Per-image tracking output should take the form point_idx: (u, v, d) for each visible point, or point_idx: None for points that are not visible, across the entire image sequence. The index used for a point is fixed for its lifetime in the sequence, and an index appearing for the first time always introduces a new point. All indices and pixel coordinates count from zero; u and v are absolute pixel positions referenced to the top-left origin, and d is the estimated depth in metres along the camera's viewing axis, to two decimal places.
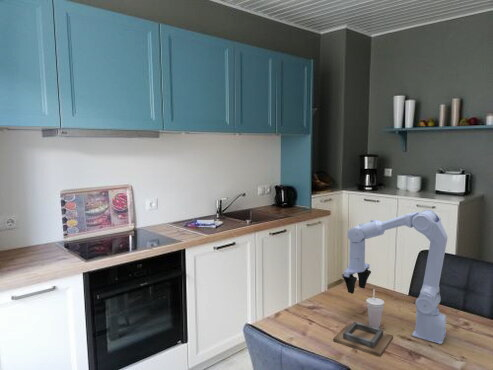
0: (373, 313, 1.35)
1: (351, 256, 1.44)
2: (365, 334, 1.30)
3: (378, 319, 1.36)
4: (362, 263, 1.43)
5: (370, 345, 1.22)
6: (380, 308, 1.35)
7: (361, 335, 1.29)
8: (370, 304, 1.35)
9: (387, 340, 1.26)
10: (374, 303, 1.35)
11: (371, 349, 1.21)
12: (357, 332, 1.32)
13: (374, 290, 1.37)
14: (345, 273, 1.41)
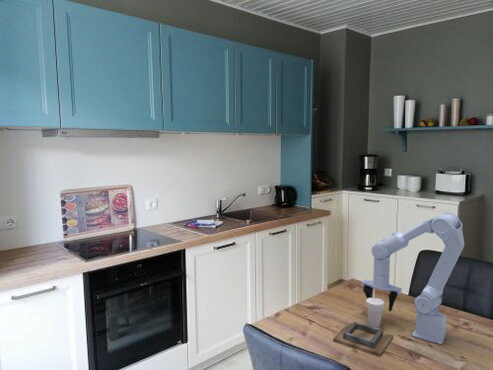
0: (373, 313, 1.35)
1: (375, 273, 1.40)
2: (365, 334, 1.30)
3: (378, 319, 1.36)
4: (377, 280, 1.40)
5: (370, 345, 1.22)
6: (380, 308, 1.35)
7: (361, 335, 1.29)
8: (370, 304, 1.35)
9: (387, 340, 1.26)
10: (374, 303, 1.35)
11: (371, 349, 1.21)
12: (357, 332, 1.32)
13: (374, 290, 1.37)
14: None
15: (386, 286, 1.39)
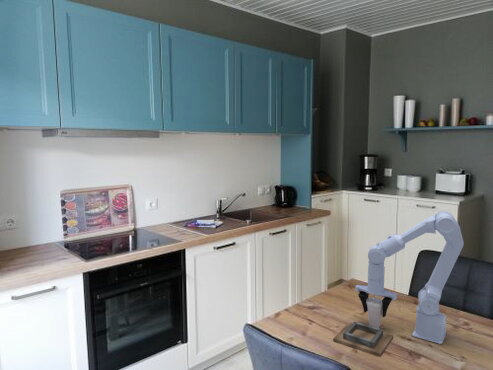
0: (373, 313, 1.35)
1: (371, 278, 1.34)
2: (365, 334, 1.30)
3: (378, 319, 1.36)
4: (371, 285, 1.34)
5: (370, 345, 1.22)
6: (380, 308, 1.35)
7: (361, 335, 1.29)
8: (370, 304, 1.35)
9: (387, 340, 1.26)
10: (374, 303, 1.35)
11: (371, 349, 1.21)
12: (357, 332, 1.32)
13: None
14: None
15: (381, 292, 1.34)
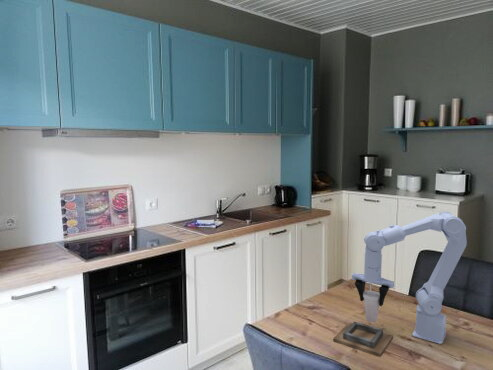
0: (369, 307, 1.32)
1: (370, 266, 1.30)
2: (365, 334, 1.30)
3: (375, 312, 1.32)
4: (368, 273, 1.31)
5: (370, 345, 1.22)
6: (377, 302, 1.31)
7: (361, 335, 1.29)
8: (366, 297, 1.32)
9: (387, 340, 1.26)
10: (371, 296, 1.32)
11: (371, 349, 1.21)
12: (357, 332, 1.32)
13: None
14: None
15: (378, 279, 1.30)
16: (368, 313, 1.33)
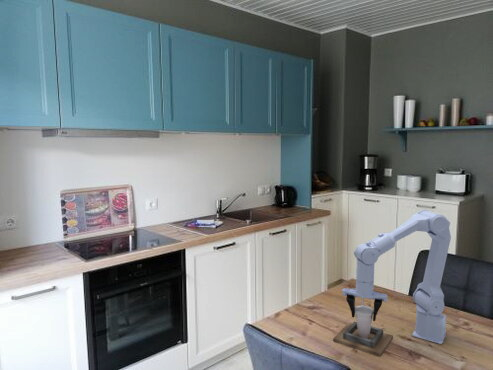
0: (363, 323, 1.26)
1: (364, 281, 1.24)
2: None
3: (369, 328, 1.27)
4: (362, 288, 1.24)
5: (370, 345, 1.22)
6: (370, 317, 1.26)
7: None
8: (360, 314, 1.26)
9: (387, 340, 1.26)
10: (364, 312, 1.26)
11: (371, 349, 1.21)
12: (357, 332, 1.32)
13: None
14: None
15: (371, 294, 1.24)
16: (361, 330, 1.27)
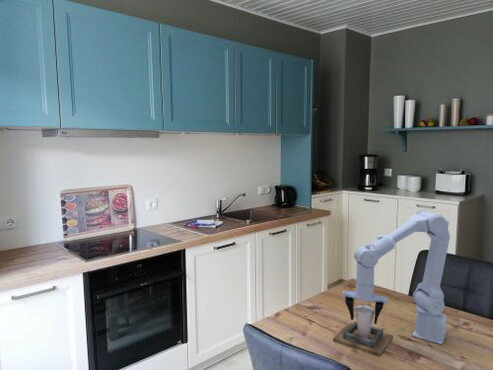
0: (363, 323, 1.26)
1: (364, 284, 1.24)
2: None
3: (369, 328, 1.27)
4: (362, 290, 1.24)
5: (370, 345, 1.22)
6: (371, 317, 1.26)
7: None
8: (361, 313, 1.26)
9: (387, 340, 1.26)
10: (365, 312, 1.26)
11: (371, 349, 1.21)
12: (357, 332, 1.32)
13: None
14: (342, 293, 1.30)
15: (371, 296, 1.24)
16: (362, 329, 1.27)
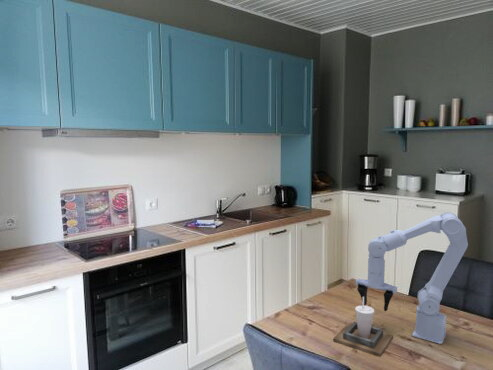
0: (363, 323, 1.26)
1: (372, 272, 1.33)
2: None
3: (369, 328, 1.27)
4: (372, 278, 1.33)
5: (370, 345, 1.22)
6: (371, 317, 1.26)
7: None
8: (361, 313, 1.26)
9: (387, 340, 1.26)
10: (365, 312, 1.26)
11: (371, 349, 1.21)
12: (357, 332, 1.32)
13: (363, 298, 1.28)
14: None
15: (381, 285, 1.33)
16: (362, 329, 1.27)
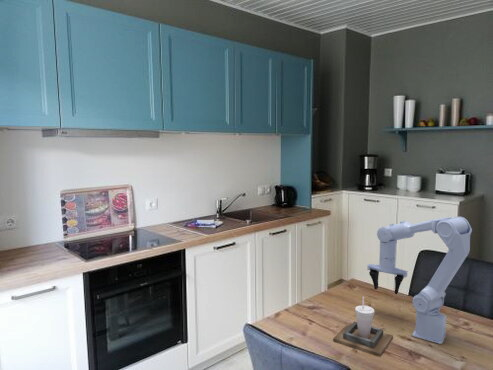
0: (363, 323, 1.26)
1: (380, 256, 1.43)
2: None
3: (369, 328, 1.27)
4: (383, 263, 1.41)
5: (370, 345, 1.22)
6: (371, 317, 1.26)
7: None
8: (361, 313, 1.26)
9: (387, 340, 1.26)
10: (365, 312, 1.26)
11: (371, 349, 1.21)
12: (357, 332, 1.32)
13: (363, 298, 1.28)
14: None
15: (392, 269, 1.41)
16: (362, 329, 1.27)
